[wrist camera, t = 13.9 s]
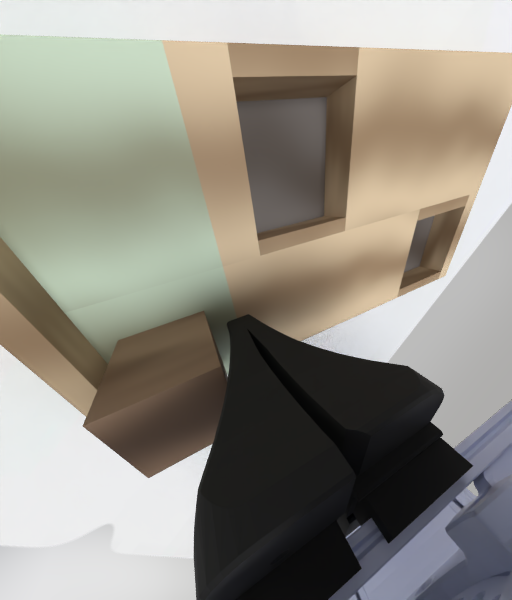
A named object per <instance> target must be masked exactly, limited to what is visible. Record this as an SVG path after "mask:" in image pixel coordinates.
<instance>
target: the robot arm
mask: <svg viewBox="0 0 512 600" xmlns="http://www.w3.org/2000/svg"><path fill="white" fill-rule="evenodd" d="M227 328H228V331H229V336H230V363H229V374H228V381H227V387H226V392H225V398H224V403H223V407H222V412H221V415H220V419H219V423H218V427H217V430H216V434H215V438H214V441H213V445H212V448H211V451H210V454H209V457H208V460H207V463H206V466H205V469H204V472H203V476H202V479H201V482H200V485H199V488H198V495H197V504H196V513H195V526H194V567H195V583H196V598H197V600H512V400H511V401H509V402H508V404H506V405H505V406H503V407H502V408H501V409H500V410H499V411H498V412H496V413H495V414H494V415H493V416H492V417H490V418H489V419H488V420H487V421H486V422H485V423H483V424H482V425H481V426H480V427H479V428H477V429H476V430H475V431H474V432H473V433H471V434H470V435H469V436H468V437H467V438H466V439H464V440H463V441H462V442H461V443H459V444H458V445H457V446H456V447H455V448H454V449H453V448H452V447H451V446H450V445H449V444H447V443H446V442H445V441H444V440H443V439H442V438H440V437H441V436H442V435H443V433H442V431H441V430H440V429H438V428H437V427H436V426H435V425H434V424H432V423H431V422H430V421H431V420H432V418H433V416H434V415H435V413H436V411H437V410H438V408H439V407H440V405H441V403H442V401H443V398H444V393H443V390H442V389H441V388H440V387H438V386H437V385H435V384H434V383H432V382H431V381H429V380H428V379H426V378H425V377H423V376H422V375H420V374H419V373H417V372H416V371H414V370H413V369H411V368H410V367H408V366H404V365H397V364H389V363H384V362H377V361H371V360H366V359H361V358H356V357H351V356H347V355H343V354H339V353H335V352H331V351H328V350H324V349H321V348H318V347H315V346H312V345H309V344H306V343H303V342H301V341H298V340H296V339H293V338H291V337H289V336H287V335H285V334H283V333H281V332H279V331H277V330H275V329H273V328H271V327H269V326H268V325H266V324H264V323H262V322H261V321H259V320H257V319H256V318H254V317H253V316H251V315H249V314H247V315H245V316H242V317H239V318H237V319H234V320H231V321H229V322H228V323H227ZM472 481H474V485H475V487H476V489H477V490H478V493H479V496H477V497H476V496H475V495H474V494H473V493H472V492H470V491H469V490H468V489H467V488H466V487H467V486H468V485H469V484H470V483H471V482H472Z"/></svg>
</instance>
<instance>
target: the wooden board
mask: <svg viewBox="0 0 512 600" xmlns="http://www.w3.org/2000/svg"><path fill="white" fill-rule="evenodd" d="M511 105H512V53H499V52H472V51H444V50H416V49H388V48H360V47H332V46H304V45H276V44H248V43H220V42H192V41H165V40H137V39H109V38H81V37H53V36H25V35H0V345H2V346H3V347H4V348H5V349H6V350H7V351H9V352H10V353H11V354H12V355H13V356H15V357H16V358H17V359H18V360H19V361H21V362H22V363H23V364H24V365H25V366H26V367H28V368H29V369H30V370H31V371H32V372H34V373H35V374H36V375H37V376H38V377H40V378H41V379H42V380H43V381H44V382H45V383H47V384H48V385H49V386H50V387H51V388H53V389H54V390H55V391H56V392H57V393H59V394H60V395H61V396H62V397H63V398H64V399H66V400H67V401H68V402H69V403H70V404H72V405H73V406H74V407H75V408H76V409H78V410H79V411H80V412H81V413H82V414H83V415H85V416H86V417H87V415H88V412H89V410H90V407H91V405H92V402H93V400H94V397H95V395H96V393H97V390H98V388H99V385H100V383H101V380H102V378H103V376H104V373H105V371H106V368H107V366H108V363H109V361H110V359H111V356H112V354H113V351H114V349H115V346H116V344H117V341H118V340H120V339H123V338H126V337H129V336H132V335H135V334H138V333H141V332H144V331H146V330H149V329H152V328H155V327H158V326H161V325H164V324H167V323H170V322H172V321H175V320H178V319H181V318H184V317H187V316H190V315H193V314H196V313H199V312H201V311H204V313H205V315H206V318H207V321H208V324H209V326H210V329H211V332H212V334H213V337H214V340H215V342H216V345H217V348H218V350H219V353H220V356H221V358H222V361H223V364H224V367H225V370H226V373H227V374H229V363H230V336H229V331H228V328H227V323H228V322H229V321H231V320H234V319H237V318H239V317H242V316H245V315H247V314H249V315H251V316H253V317H254V318H256V319H257V320H259V321H261V322H262V323H264V324H266V325H268V326H269V327H271V328H273V329H275V330H277V331H279V332H281V333H283V334H285V335H287V336H289V337H291V338H293V339H296V340H298V341H302V340H304V339H306V338H308V337H311V336H313V335H315V334H317V333H320V332H322V331H324V330H326V329H328V328H331V327H333V326H335V325H337V324H339V323H342V322H344V321H346V320H348V319H351V318H353V317H355V316H357V315H359V314H362V313H364V312H366V311H368V310H370V309H373V308H375V307H377V306H379V305H382V304H384V303H386V302H388V301H390V300H393V299H395V298H397V297H399V296H401V295H404V294H406V293H408V292H410V291H413V290H415V289H417V288H419V287H421V286H424V285H426V284H428V283H430V282H432V281H435V280H437V279H439V278H441V277H444V276H445V275H446V273H447V270H448V267H449V265H450V262H451V260H452V257H453V255H454V252H455V249H456V247H457V244H458V242H459V239H460V237H461V234H462V231H463V229H464V226H465V224H466V221H467V219H468V216H469V213H470V211H471V208H472V206H473V203H474V200H475V198H476V195H477V193H478V190H479V188H480V185H481V182H482V180H483V177H484V175H485V172H486V170H487V167H488V164H489V162H490V159H491V157H492V154H493V152H494V149H495V146H496V144H497V141H498V139H499V136H500V134H501V131H502V128H503V126H504V123H505V121H506V118H507V115H508V113H509V110H510V108H511Z"/></svg>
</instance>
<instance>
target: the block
mask: <svg viewBox="0 0 512 600" xmlns="http://www.w3.org/2000/svg"><path fill="white" fill-rule="evenodd" d="M227 381H228V376H227V373H226V370H225V367H224V364H223V361H222V358H221V356H220V353H219V350H218V348H217V345H216V342H215V340H214V337H213V334H212V332H211V329H210V326H209V324H208V321H207V318H206V315H205V313H204V311H201V312H199V313H196V314H193V315H190V316H187V317H184V318H181V319H178V320H175V321H172V322H170V323H167V324H164V325H161V326H158V327H155V328H152V329H149V330H146V331H144V332H141V333H138V334H135V335H132V336H129V337H126V338H123V339H120V340H118V341H117V344H116V346H115V349H114V351H113V354H112V356H111V359H110V361H109V363H108V366H107V368H106V371H105V373H104V376H103V378H102V380H101V383H100V385H99V388H98V390H97V393H96V395H95V397H94V400H93V402H92V405H91V407H90V410H89V412H88V415H87V417H86V419H85V422H84V424H83V427H84V428H86V429H87V430H88V431H89V432H91V433H92V434H93V435H94V436H96V437H97V438H98V439H100V440H101V441H102V442H103V443H105V444H106V445H107V446H108V447H110V448H111V449H112V450H113V451H115V452H116V453H117V454H119V455H120V456H121V457H122V458H124V459H125V460H126V461H127V462H129V463H130V464H131V465H132V466H134V467H135V468H136V469H137V470H139V471H140V472H141V473H143V474H144V475H145V476H146V477H148V478H150V477H152V476H153V475H155V474H157V473H159V472H161V471H163V470H165V469H166V468H168V467H170V466H172V465H174V464H176V463H178V462H179V461H181V460H183V459H185V458H187V457H189V456H190V455H192V454H194V453H196V452H198V451H200V450H202V449H203V448H205V447H207V446H209V445H211V444H213V441H214V438H215V434H216V430H217V427H218V423H219V419H220V415H221V412H222V407H223V403H224V398H225V392H226V387H227Z"/></svg>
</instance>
